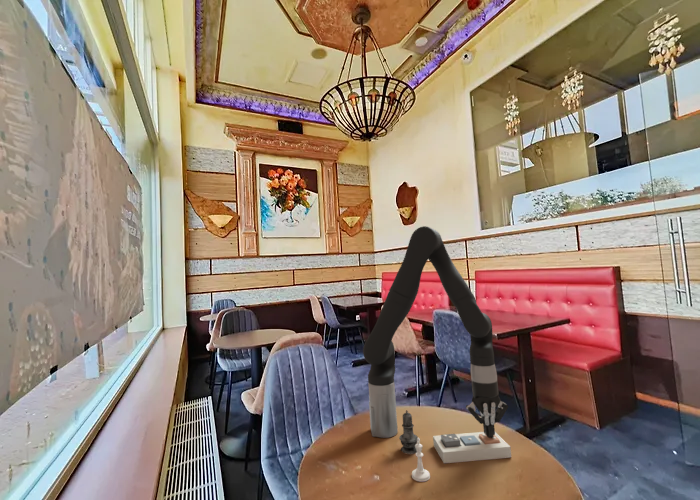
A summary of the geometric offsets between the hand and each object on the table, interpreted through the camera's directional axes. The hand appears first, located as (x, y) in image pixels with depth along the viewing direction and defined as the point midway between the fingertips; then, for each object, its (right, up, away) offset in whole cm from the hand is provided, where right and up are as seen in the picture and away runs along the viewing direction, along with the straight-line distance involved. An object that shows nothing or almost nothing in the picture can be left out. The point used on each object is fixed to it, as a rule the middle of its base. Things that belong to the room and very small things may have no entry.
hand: (489, 436), depth 102 cm
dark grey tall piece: (-24, -6, +3) cm, 25 cm away
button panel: (-6, -4, -1) cm, 7 cm away
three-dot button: (-12, -3, -1) cm, 12 cm away
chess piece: (-23, -5, -11) cm, 26 cm away
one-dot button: (-6, -3, 0) cm, 7 cm away
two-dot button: (0, -3, 0) cm, 3 cm away
